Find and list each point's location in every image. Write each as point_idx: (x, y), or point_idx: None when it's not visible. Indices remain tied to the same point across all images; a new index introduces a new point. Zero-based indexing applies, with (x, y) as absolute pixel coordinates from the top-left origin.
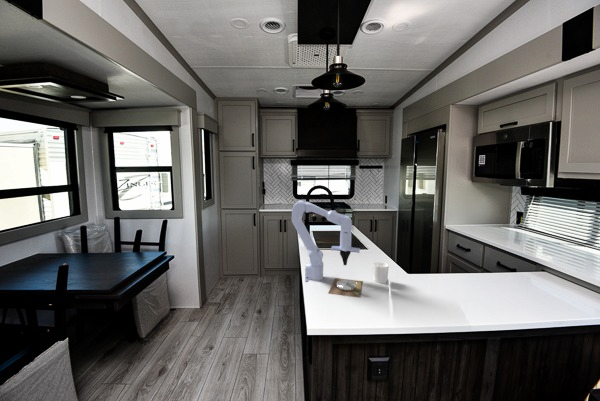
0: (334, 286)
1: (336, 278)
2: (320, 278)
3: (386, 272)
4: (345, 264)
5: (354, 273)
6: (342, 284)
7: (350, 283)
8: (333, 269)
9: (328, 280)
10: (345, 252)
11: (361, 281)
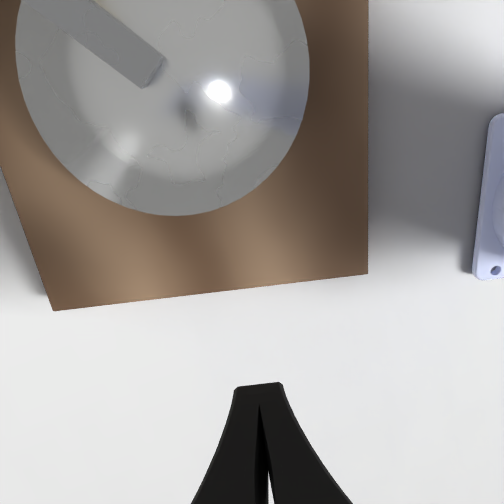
0: (323, 25)
1: (346, 267)
2: None
3: None
4: (247, 394)
5: (212, 458)
6: (214, 35)
7: (90, 50)
8: (412, 465)
9: (425, 228)
10: None
11: (66, 297)
